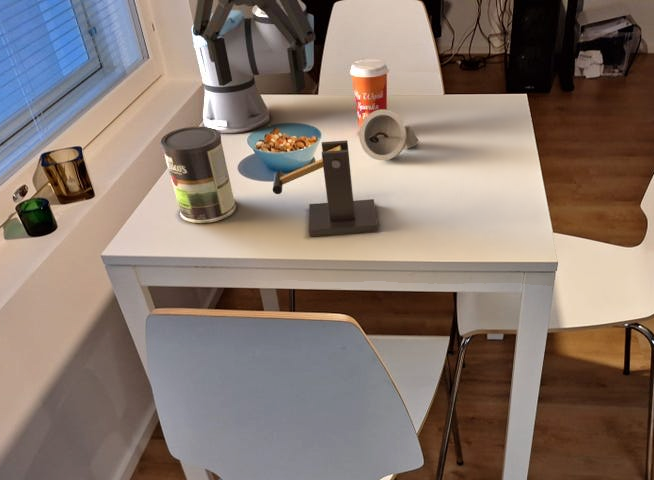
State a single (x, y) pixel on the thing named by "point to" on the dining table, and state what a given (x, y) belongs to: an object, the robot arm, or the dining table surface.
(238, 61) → the robot arm
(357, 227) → the stand
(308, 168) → the switch lever
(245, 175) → the dining table surface
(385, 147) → the light fixture
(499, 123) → the dining table surface
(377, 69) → the coffee cup
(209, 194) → the coffee can
